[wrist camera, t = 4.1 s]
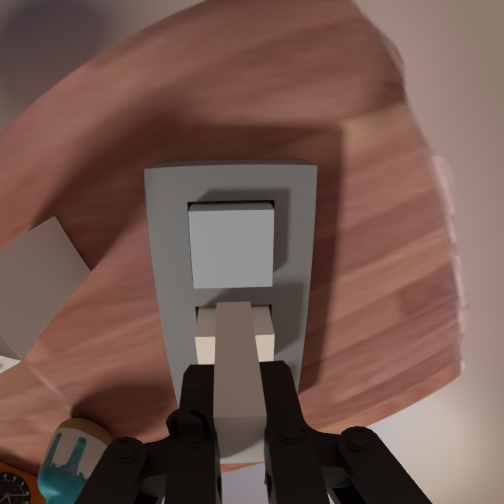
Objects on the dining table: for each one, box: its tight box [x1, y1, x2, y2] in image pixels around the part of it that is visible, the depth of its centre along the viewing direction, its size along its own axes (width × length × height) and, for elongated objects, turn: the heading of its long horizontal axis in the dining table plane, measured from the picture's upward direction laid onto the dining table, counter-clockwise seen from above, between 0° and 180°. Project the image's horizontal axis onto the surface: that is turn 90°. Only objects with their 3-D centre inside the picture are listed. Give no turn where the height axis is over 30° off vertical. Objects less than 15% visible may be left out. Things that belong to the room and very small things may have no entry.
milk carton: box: [0, 216, 91, 373], centre depth 20 cm, size 7×7×19 cm
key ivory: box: [195, 304, 275, 364], centre depth 27 cm, size 6×6×6 cm
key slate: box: [188, 200, 274, 289], centre depth 26 cm, size 6×6×6 cm
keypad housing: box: [144, 159, 317, 408], centre depth 30 cm, size 13×30×5 cm, turn 0°
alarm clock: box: [0, 461, 46, 504], centre depth 39 cm, size 18×9×21 cm, turn 84°
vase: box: [37, 418, 114, 504], centre depth 31 cm, size 11×11×19 cm
